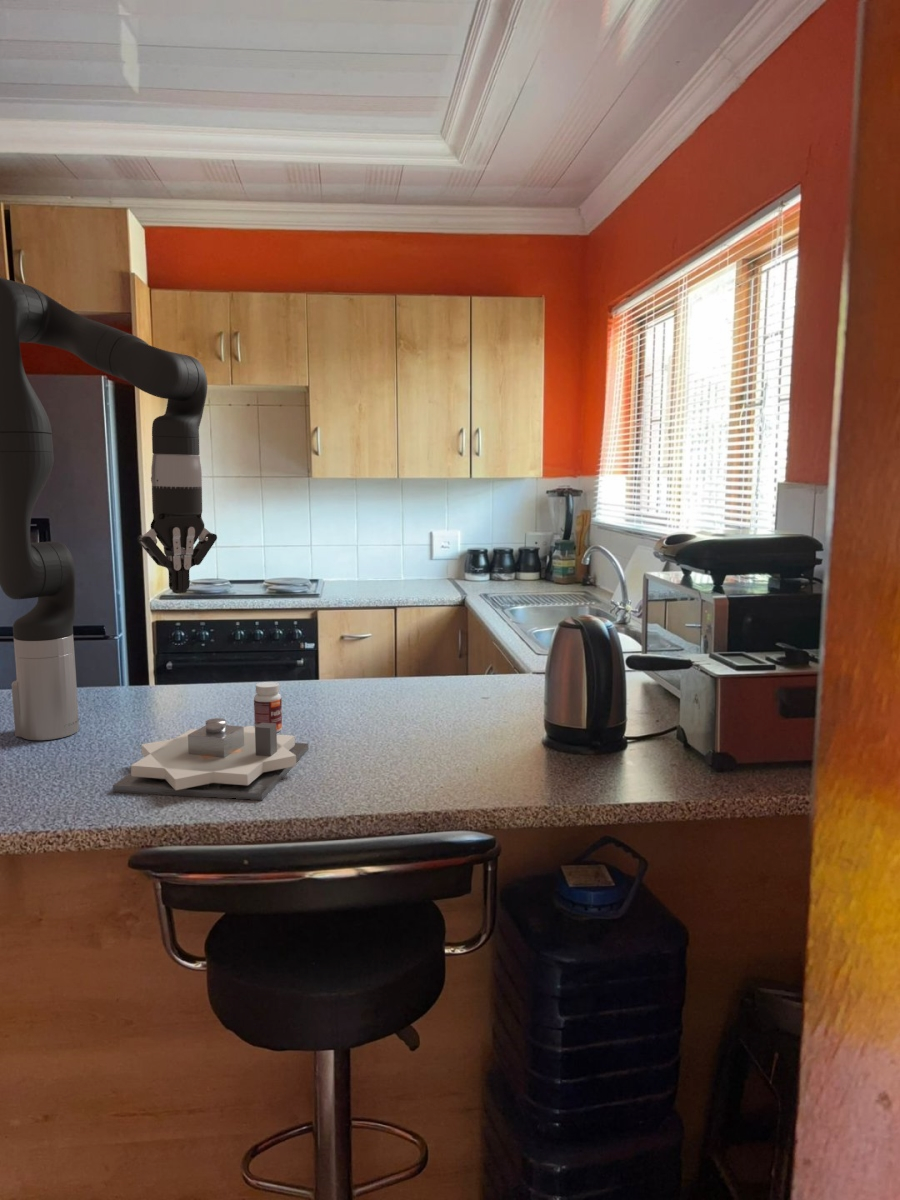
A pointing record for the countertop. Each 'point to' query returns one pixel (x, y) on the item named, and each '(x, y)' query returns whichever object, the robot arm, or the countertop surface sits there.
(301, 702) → the countertop surface
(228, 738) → the cover
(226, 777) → the turntable
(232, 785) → the base
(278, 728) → the pill bottle
